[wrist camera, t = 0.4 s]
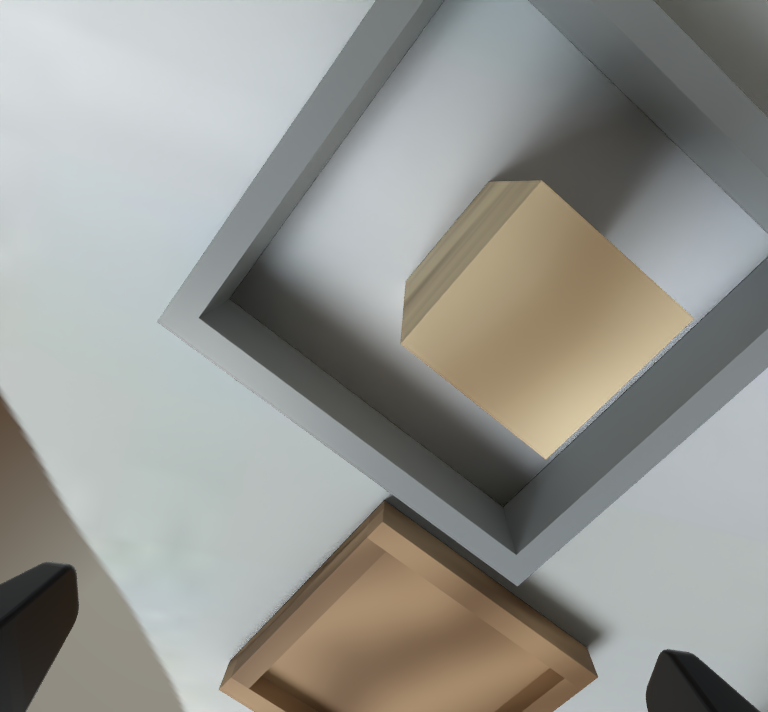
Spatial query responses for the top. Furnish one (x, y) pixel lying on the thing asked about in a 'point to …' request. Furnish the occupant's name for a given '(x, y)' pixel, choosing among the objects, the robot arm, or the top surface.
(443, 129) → the top surface
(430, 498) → the slate bin
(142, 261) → the top surface
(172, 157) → the top surface
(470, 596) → the walnut tray
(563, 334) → the maple block
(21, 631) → the robot arm
